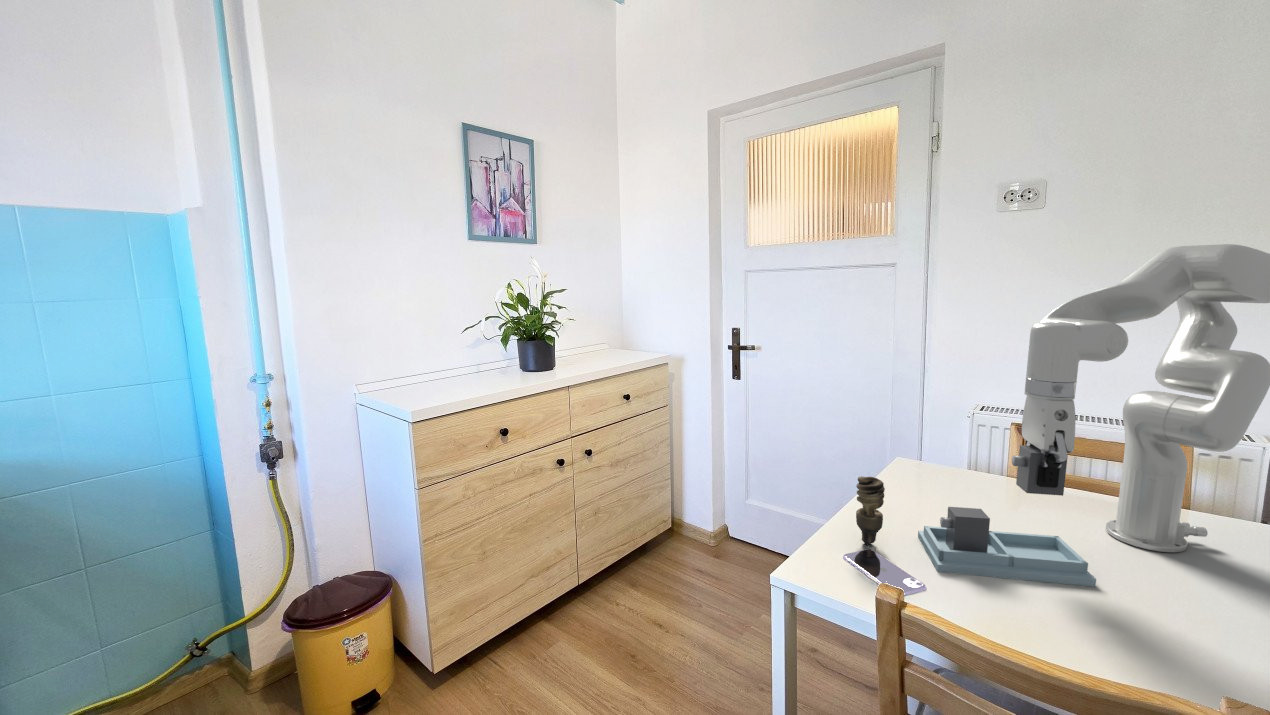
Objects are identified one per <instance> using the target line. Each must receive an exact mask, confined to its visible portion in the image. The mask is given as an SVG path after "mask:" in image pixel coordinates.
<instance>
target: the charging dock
mask: <svg viewBox="0 0 1270 715" xmlns="http://www.w3.org/2000/svg"><path fill="white" fill-rule="evenodd" d="M946 531H947V528H942V527H941V526H932V525H931V526H930V525H924V527H923V530H918V531H917V538H918V539H919V542H920V544H921V545H922V548H923V549H924V550H925V552H926V554H927V556H928V558H929V559H930V561H931V562H932V565H933V566H934V568H935V569H936V572H937V573H946V574H957V575H958V574H959V575H968V576H978V577H987V578H988V577H989V578H999V579H1010V580H1021V581H1032V582H1040V583H1041V582H1042V583H1053V584H1065V585H1074V586H1085V587H1094V588H1095V587H1096V585H1097V578H1096V577H1095V576H1094V575H1093V574H1091V573H1090V571H1089V568H1088V567H1089V562H1087V561H1086V560H1085V559H1084V558H1083V557H1082V556H1081V555H1080V554H1078V552H1076V551H1075V550H1074V549H1073V548H1072V547H1071V546H1070V545H1068V544H1067V543H1066V542H1065V541H1064V540H1063V539H1062V538H1061V537H1060V536H1058V535H1050V534H1049V535H1048V534H1038V533H1037V534H1035V533H1021V532H1010V531H995V530H989V537H988V549H987V553H982V552H970V551H959V550H950V549H949V547H948V546H947V544H946Z"/></svg>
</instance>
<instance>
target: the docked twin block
mask: <svg viewBox="0 0 1270 715" xmlns="http://www.w3.org/2000/svg"><path fill="white" fill-rule="evenodd" d="M939 521H940V522H939V523H940V524H939V525H940V527H942V528H947V531H946V544H947V546H948V547H949V549H950V550H959V551H970V552H982V553H987V549H988V537H989V531H990V522H991V518H990V517H989V516H988V515H987V514H986V512H984V510H983V509H982V508H976V507H975V508H973V507H961V506H960V507H958V506H948V507H947V517H944V516H942V517H940V519H939Z"/></svg>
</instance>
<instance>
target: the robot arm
mask: <svg viewBox="0 0 1270 715" xmlns="http://www.w3.org/2000/svg"><path fill="white" fill-rule="evenodd" d="M1175 302H1176V304H1177V309H1178V314H1179V322H1178V325H1177V327H1176V329H1175V332H1174V334H1173V336H1172V338H1171V339H1170V341H1169V343H1168V344H1167V347H1166V348H1165V350H1164V353H1163V354H1162V356H1161V357H1160V360H1159V361H1158V364H1157V367H1156V368H1155V373H1154V378H1155V380H1156V381H1157V383H1158V384H1159V385H1161V386H1162V387H1165V388H1167V389H1170V390H1174V391H1178V392H1181V393H1182V392H1183V393H1188V394H1193V395H1194V394H1195V395H1201V396H1206V397H1207V396H1208V397H1211V398H1213V400H1210V399H1206V398H1200V397H1193V396H1189V395H1185V394H1184V395H1183V394H1177V393H1171V392H1168V391H1167V392H1165V391H1160V390H1159V391H1158V390H1144V391H1138V392H1136V393H1133V394H1131V395H1130V396H1129V397H1128V398H1127V399H1126V400H1125V401H1124V404H1123V407H1122V421H1123V422H1122V423H1123V428H1124V452H1123V454H1124V455H1123V463H1122V469H1121V470H1122V471H1121V477H1120V486H1119V492H1118V493H1119V494H1118V503H1117V509H1116V510H1117V511H1116V519H1113V520H1110V521H1108V522H1106V523H1105V531H1106V532H1107V534H1109V535H1110V536H1111V537H1113V538H1114V539H1117V540H1118V541H1121V542H1123V543H1125V544H1128V545H1131V546H1134V547H1137V548H1140V549H1145V550H1147V551H1154V552H1161V553H1179V552H1180V553H1181V552H1184V551H1186V550H1187V548H1188V541H1187V540H1186V539H1185V538H1188V537H1189V536H1193V537H1200V538H1201V537H1203V538H1206V537H1207V536H1208V535H1209V534H1208V533H1209V532H1208V530H1207V528H1205V527H1203V526H1193V525H1192V526H1191V525H1190V523H1189V522H1185V521H1181V520H1180V519H1181V514H1182V506H1183V500H1184V493H1185V484H1186V477H1187V472H1188V460H1187V456H1186V454H1185V453H1184V450H1183V448H1182V446H1181V445H1183V446H1187V447H1191V448H1196V449H1199V450H1204V451H1208V452H1214V453H1222V452H1223V453H1224V452H1227V451H1231V450H1232V449H1234V448H1235V447H1236V446H1237V445H1238V444H1239V443H1240V442H1241V440H1242V439H1243V437H1244V436H1245V434H1246V432H1247V430H1248V429H1249V426H1250V425H1251V423H1252V421H1253V420H1254V418H1255V415H1256V414H1257V412H1258V410H1259V409H1260V406H1261V405H1262V403H1263V401H1264V399H1265V397H1266V395H1267V393H1268V391H1269V389H1270V361H1269V360H1268V359H1267V358H1265V357H1264V356H1263V355H1261V354H1258V353H1255V352H1252V351H1247V350H1245V351H1244V350H1236V349H1231V347H1232V345H1233V343H1234V341H1235V339H1236V338H1237V336H1238V327H1237V324H1236V322H1235V320H1234V318H1233V316H1232V315H1231V314H1230V313H1229V312H1228V311H1227V309H1226V307H1224V305H1223V303H1245V304H1270V253H1269V252H1265V251H1263V250H1260V249H1257V248H1254V247H1250V246H1246V245H1242V244H1233V243H1232V244H1231V243H1229V244H1228V243H1227V244H1226V243H1225V244H1224V243H1223V244H1202V245H1201V244H1200V245H1182V246H1181V245H1179V246H1174V247H1169V248H1167V249H1164V250H1162V251H1160V252H1159V253H1157V254H1156V255H1155V256H1153V257H1152V258H1150V259H1148V261H1147V262H1145V263H1143V265H1141V266H1140V267H1139V268H1137V269H1136V270H1134V271H1133V272H1132V273H1131V274H1130V275H1128V276H1127V277H1125V278H1124V279H1122V281H1120V282H1119V283H1116V284H1113V285H1110V286H1107V287H1103V288H1100V289H1097V290H1094V291H1092V292H1089V293H1086V294H1084V295H1081V296H1077V297H1075V298H1072V299H1069V300H1068V301H1066V302H1064V303H1062V304H1060V305H1059V306H1058V307H1056V308H1055V309H1053V310H1052V311H1051V312H1050V313H1048V314H1047V315H1046V316H1044V317H1043V319H1041V320H1040V321H1039V322H1037V323H1035V324H1033V325H1032V327H1031V328H1030V334H1029V340H1028V341H1029V345H1028V354H1027V365H1026V375H1025V385H1024V395H1026V397H1025V402H1024V407H1023V414H1022V419H1021V436H1022V438H1023V439H1024V444H1025V446H1036V447H1037V448H1039V449H1040V450H1041V465H1042V466H1041V465H1039V468H1038V478H1037V485H1038V486H1039V487H1051V488H1057V487H1058V480H1059V471H1060V468H1061V466H1062V465H1061V464H1062V463H1063V461H1065V460H1067V461H1068V458H1069V454H1071V453H1073V452H1074V450H1075V440H1076V406H1075V405H1076V404H1075V398H1076V390H1077V383H1078V382H1077V380H1078V372H1079V363H1080V361H1088V362H1089V361H1090V362H1096V363H1097V362H1098V363H1099V362H1101V363H1102V362H1108V361H1112V360H1114V359H1115V360H1116V359H1117V358H1118V357H1120V356H1121V355H1122V354H1123V353H1124V352H1125V351H1126V350H1127V348H1128V345H1129V336H1128V333H1127V331H1126V330H1125V329H1124V328H1123V327H1122V326H1121V325H1119V324H1126V323H1132V322H1136V321H1141V320H1142V321H1143V320H1148V319H1151V318H1154V317H1156V316H1158V315H1160V314H1162V312H1164V311H1165V310H1167V308H1169V307H1170V306H1171V305H1173V304H1174V303H1175ZM1049 447H1055V450H1050V449H1049ZM1048 454H1054V456H1050V457H1049V458H1048ZM1067 454H1068V455H1067Z"/></svg>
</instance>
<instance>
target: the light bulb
mask: <svg viewBox="0 0 1270 715" xmlns="http://www.w3.org/2000/svg"><path fill="white" fill-rule="evenodd" d="M857 481H858V482H857V484H856V486H855V487H856V488H857V489H858V490H857V491H856V494H857V496H856V500H857V502H858V503H860V504H861V505H862V508H859V509H857V510H856V512H855V514H856V515H855V521H856V525H857V528H859V530H860V531H861V541H862V542H863V544H864V545H865V546H870V545H871V544H873V543H875V541H877V533H879V531H880V530H882V527H883V523H884V522H883V521H884V514H883V513H882V511H880V510H878V509H880V508H881V507H882V506H883V505H884V503H885V501H884V498H885V491H886V490H885V489H886V488H885V485H884V482H883V481H882V480H881V479H878V478H877V477H875V476H862V475H861V476H858V478H857Z"/></svg>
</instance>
